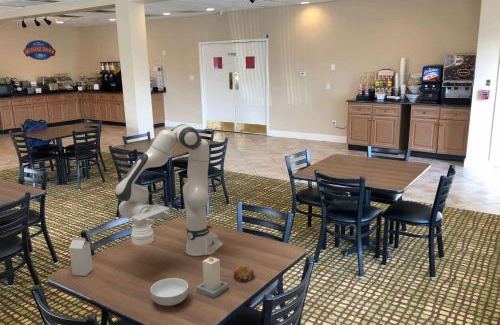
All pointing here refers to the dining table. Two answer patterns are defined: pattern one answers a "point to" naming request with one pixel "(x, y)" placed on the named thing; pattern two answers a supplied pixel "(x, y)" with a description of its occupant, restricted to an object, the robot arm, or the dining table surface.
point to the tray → (209, 293)
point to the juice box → (211, 274)
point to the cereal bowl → (169, 291)
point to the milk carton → (80, 257)
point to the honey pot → (142, 234)
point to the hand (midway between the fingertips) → (162, 219)
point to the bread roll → (243, 273)
